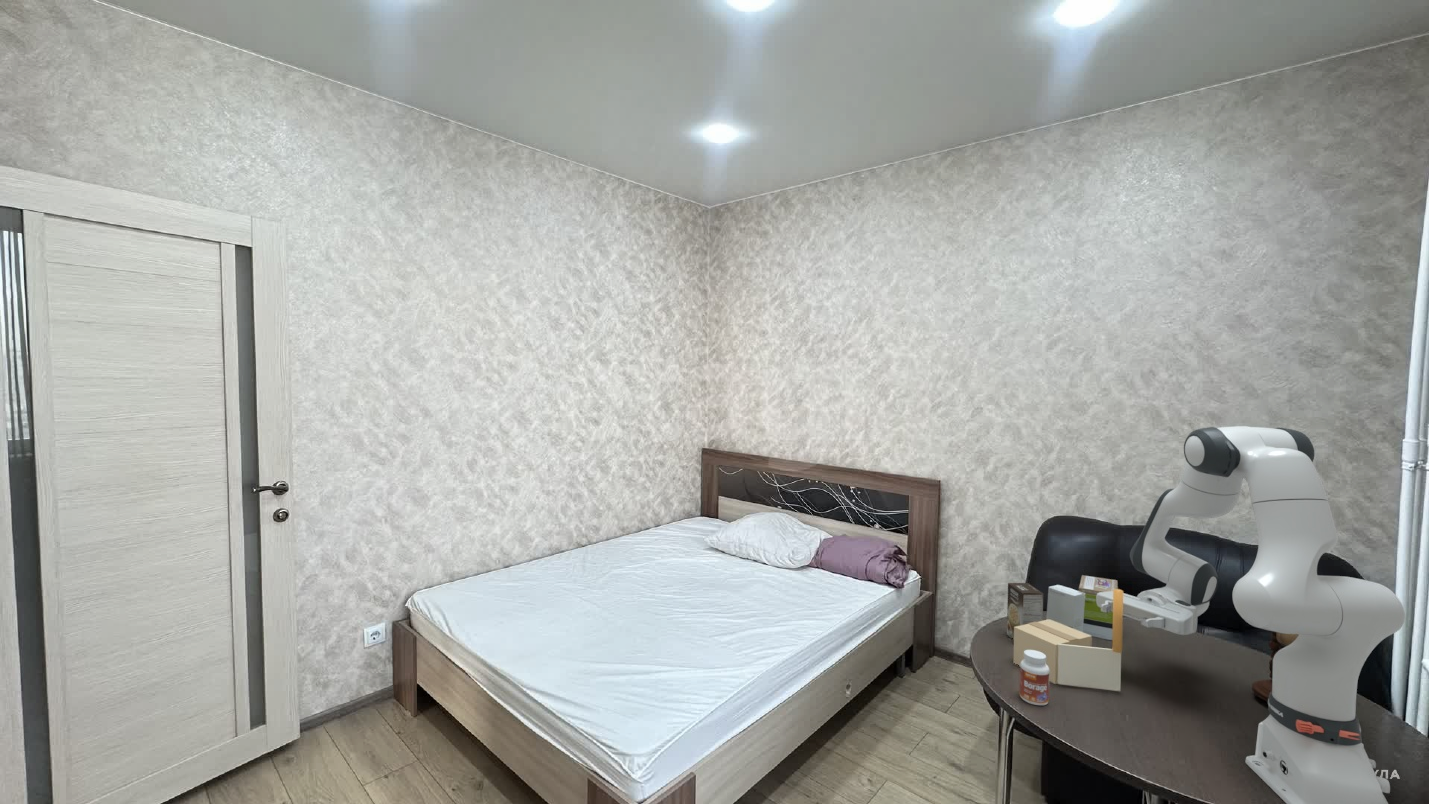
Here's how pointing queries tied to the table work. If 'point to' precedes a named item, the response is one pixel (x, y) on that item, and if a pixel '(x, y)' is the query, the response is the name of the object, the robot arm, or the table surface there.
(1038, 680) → the pill bottle
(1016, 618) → the coffee box
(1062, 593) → the skincare box
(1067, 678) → the cleaver with orange handle
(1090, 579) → the tea box
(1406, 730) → the table surface
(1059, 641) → the carton
